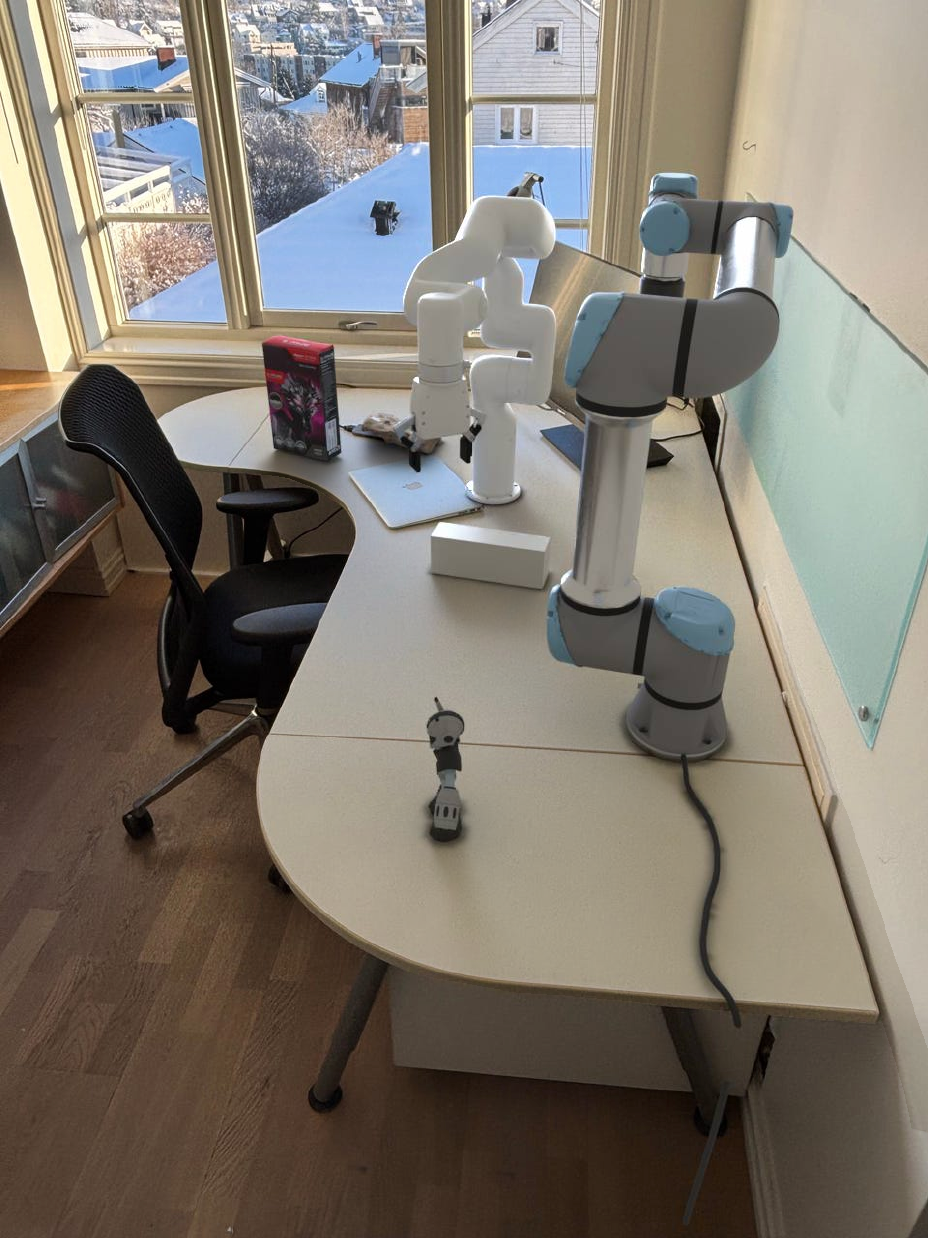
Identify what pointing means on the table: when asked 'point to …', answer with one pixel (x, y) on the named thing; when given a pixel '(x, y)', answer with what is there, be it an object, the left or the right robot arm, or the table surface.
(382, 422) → the stone
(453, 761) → the robot
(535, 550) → the bar
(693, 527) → the table surface
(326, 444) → the graphics card box
